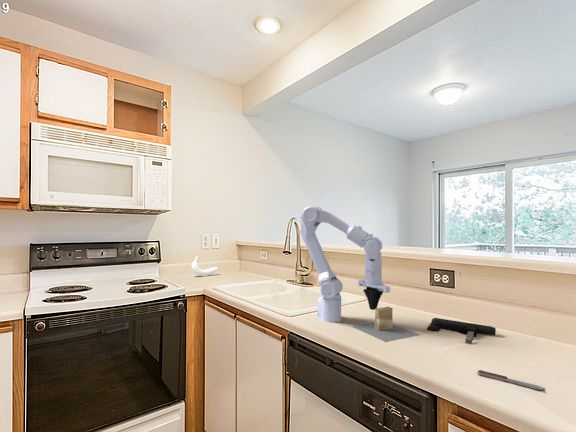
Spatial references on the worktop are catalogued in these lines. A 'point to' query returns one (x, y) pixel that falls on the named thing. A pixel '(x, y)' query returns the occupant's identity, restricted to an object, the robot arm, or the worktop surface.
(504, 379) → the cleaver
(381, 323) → the wooden block
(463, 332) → the black toy gun
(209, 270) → the banana
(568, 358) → the worktop surface
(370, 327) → the mat
